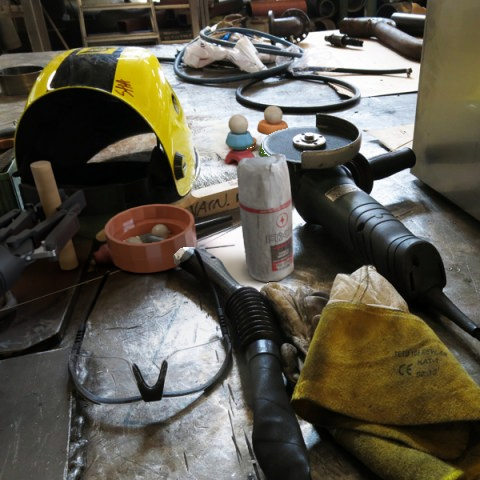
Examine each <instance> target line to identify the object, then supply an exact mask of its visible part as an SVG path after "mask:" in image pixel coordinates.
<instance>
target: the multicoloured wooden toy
mask: <svg viewBox="0 0 480 480" xmlns="http://www.w3.org/2000/svg"><path fill="white" fill-rule="evenodd" d="M227 124H228V129H229V132H227V136H226V138H225V142H224V143H225V145H226V146H227V147H228V149H229V151H228V152H227V154H226V155H225V158H224V164H225V165H228V164H230V163H233V162H237V165H238V164H239V162H240V161H241V160H242V159H244V158H253V157H256V155H255V154H254V152H253V151H254V150H255V149H256V147H257V141H258V140H257V138H256V137H254V136H252V134H251V132H250V131H249V129H248V128H249V120H248V119H247V118H246V116H244V115H242V114H234V115H232V116H231V117H230V118H229V120H228V123H227ZM286 128H288V129H289V125H288V123H287V122H286V121H285V120H283V111H282V109H281V108H280V107H278V106H277V105H270V106H267V107H266V108H265V110H264V111H263V119H261V120H259V122H258V123H257V127H256V131H257V132H258V133H260V134H262V135H265V136H270V135H269V134H271V133H273V132H275V131H278V130H282V129H286ZM253 146H254V147H253ZM250 147H252V148H250ZM247 148H248V149H247ZM259 151H260V152H259ZM261 152H262V153H261ZM264 153H265V152H264V150H263V149H262V142H260V145H259V148H258V153H257V154H258V157H269V156H268V155H267V154H264Z"/></svg>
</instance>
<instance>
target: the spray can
mask: <svg viewBox="0 0 480 480" xmlns="http://www.w3.org/2000/svg"><path fill="white" fill-rule="evenodd" d="M236 177H237V188H238V190H237V191H238V205H239V215H240V222H241V223H240V225H241V232H242V240H243V248H244V254H245V255H244V257H245V263H246V272H247V274H248V276H249V277H251V278H252V279H253V280H255V281H259V282H263V283H270V282H269V281H276V282H279V281H281V280H284V279H285V278H286V277H288V276H290V275H291V274H293V272H294V270H295V263H294V229H293V228H294V227H293V226H294V225H293V224H294V223H293V203H292V200H293V199H292V191H291V180H290V171H289V168H288V163H287V159H286V155H285V154H282V153H279V152H277V154H272V155H271V156H269V157H261V156H255V157H253V158H244V159H242V160H241V161H240V162H239V164H238V163H237V167H236Z"/></svg>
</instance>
